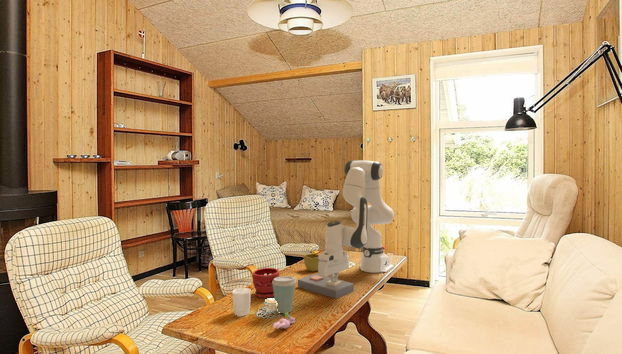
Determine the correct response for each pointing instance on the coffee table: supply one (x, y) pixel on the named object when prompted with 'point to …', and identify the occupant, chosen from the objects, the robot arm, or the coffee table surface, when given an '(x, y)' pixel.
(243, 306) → the white cup
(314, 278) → the terracotta key
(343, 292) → the key panel
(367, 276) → the coffee table surface
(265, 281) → the plant pot
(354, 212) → the robot arm
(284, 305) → the disposable coffee cup
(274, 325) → the pink flower
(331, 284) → the cream key
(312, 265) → the flower pot
